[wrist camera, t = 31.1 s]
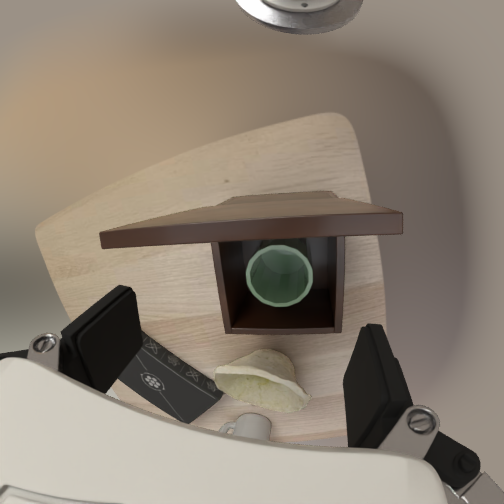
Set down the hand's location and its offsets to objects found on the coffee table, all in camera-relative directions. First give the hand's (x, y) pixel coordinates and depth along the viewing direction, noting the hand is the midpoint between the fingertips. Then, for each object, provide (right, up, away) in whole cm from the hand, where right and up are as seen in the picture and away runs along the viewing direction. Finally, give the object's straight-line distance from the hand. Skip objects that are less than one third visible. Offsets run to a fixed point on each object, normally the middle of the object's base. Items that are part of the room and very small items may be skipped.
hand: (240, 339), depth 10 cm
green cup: (+5, +3, +25) cm, 25 cm away
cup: (0, -31, +38) cm, 49 cm away
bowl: (+3, -15, +32) cm, 36 cm away
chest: (+5, +4, +25) cm, 26 cm away
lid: (+1, +5, +7) cm, 9 cm away
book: (-17, -20, +38) cm, 46 cm away
